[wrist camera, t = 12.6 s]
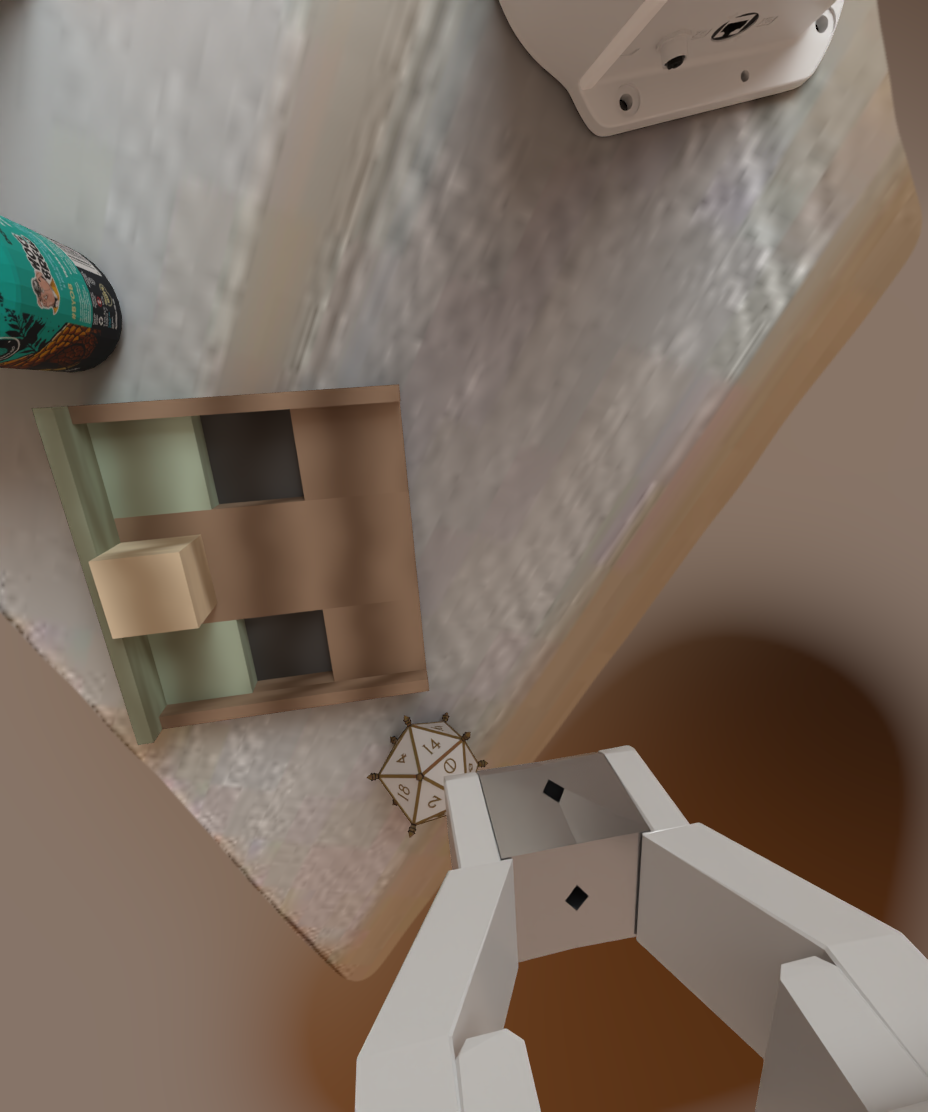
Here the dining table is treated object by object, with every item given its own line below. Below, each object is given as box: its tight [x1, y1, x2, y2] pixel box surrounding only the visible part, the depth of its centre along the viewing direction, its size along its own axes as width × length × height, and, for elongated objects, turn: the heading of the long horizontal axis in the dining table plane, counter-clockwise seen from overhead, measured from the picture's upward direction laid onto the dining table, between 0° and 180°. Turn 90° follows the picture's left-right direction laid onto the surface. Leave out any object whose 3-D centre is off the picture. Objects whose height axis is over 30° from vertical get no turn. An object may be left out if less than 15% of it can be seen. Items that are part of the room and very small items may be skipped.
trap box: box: [32, 385, 429, 745], centre depth 35 cm, size 20×22×5 cm
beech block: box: [89, 535, 217, 639], centre depth 33 cm, size 5×5×4 cm
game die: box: [367, 713, 488, 837], centre depth 41 cm, size 9×8×10 cm
